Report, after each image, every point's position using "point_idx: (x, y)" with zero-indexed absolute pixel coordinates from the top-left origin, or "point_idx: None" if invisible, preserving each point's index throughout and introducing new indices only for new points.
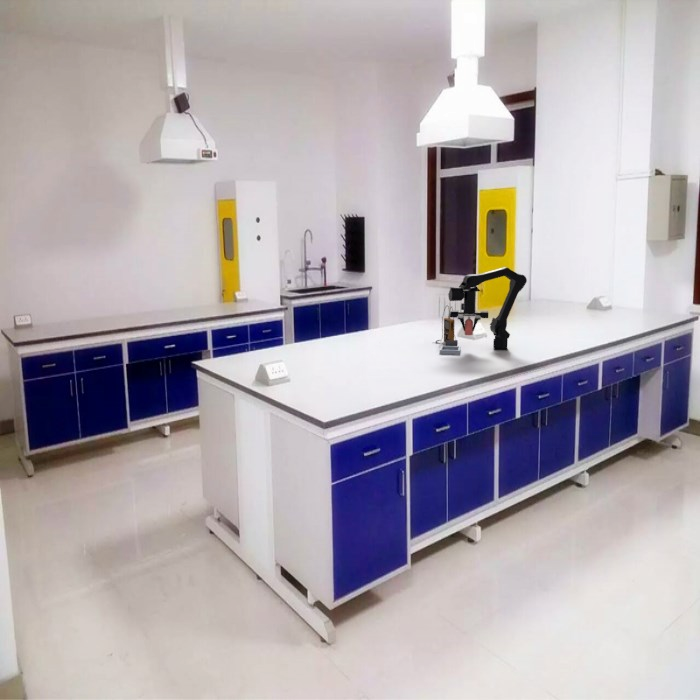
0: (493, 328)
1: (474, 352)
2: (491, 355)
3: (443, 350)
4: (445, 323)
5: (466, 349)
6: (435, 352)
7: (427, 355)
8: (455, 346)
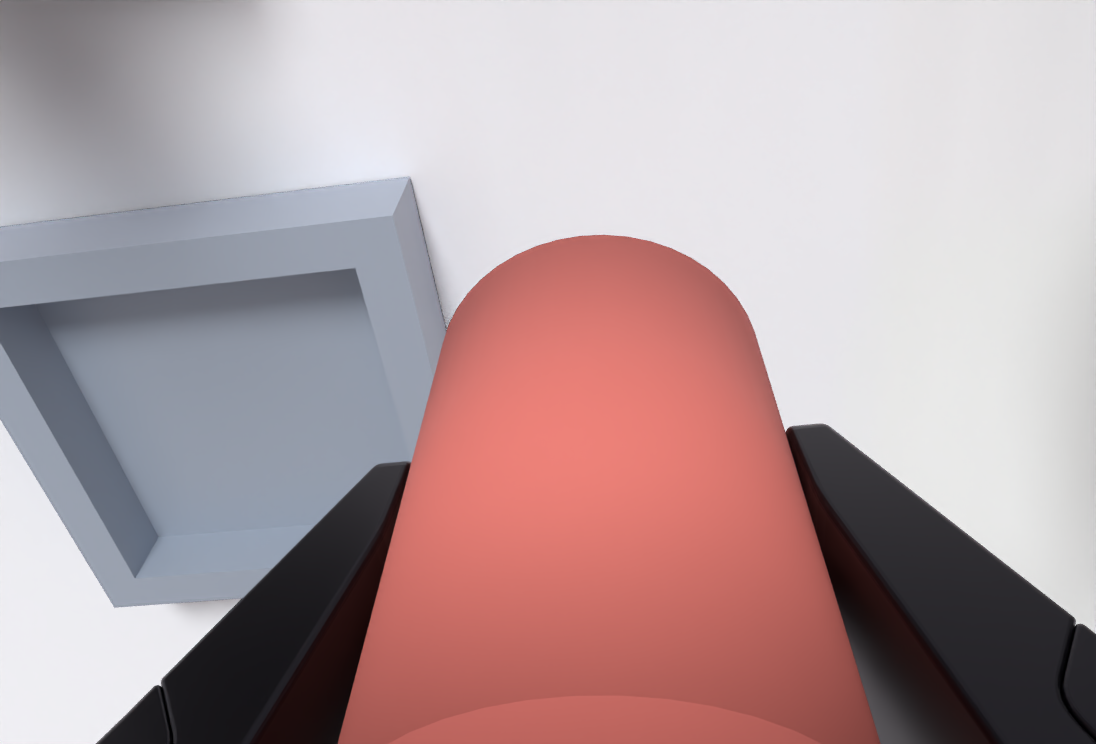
0: None
1: (748, 312)
2: (1082, 464)
3: (185, 597)
4: None
5: (529, 54)
6: (19, 469)
7: (24, 649)
8: (273, 268)
